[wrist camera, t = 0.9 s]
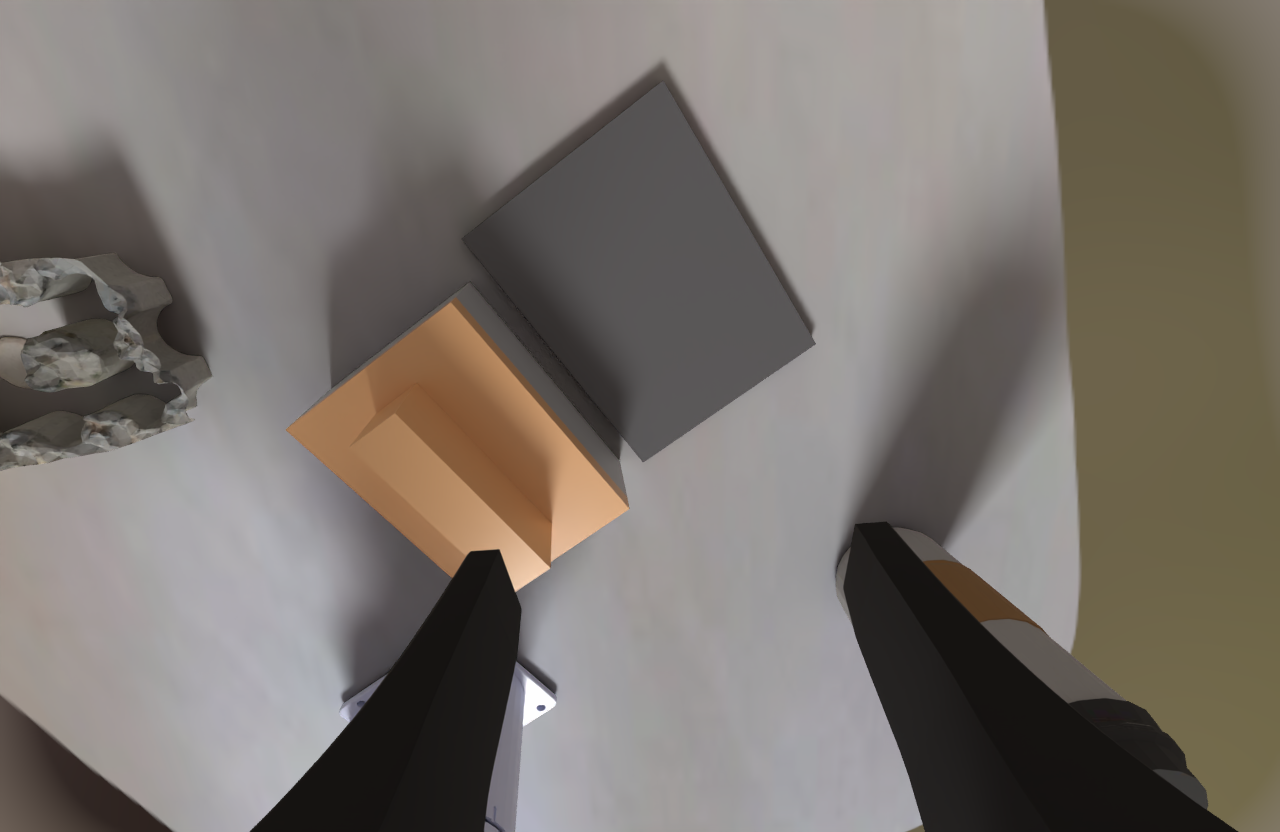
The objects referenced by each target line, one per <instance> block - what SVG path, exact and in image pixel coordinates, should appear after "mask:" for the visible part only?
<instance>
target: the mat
mask: <svg viewBox="0 0 1280 832" xmlns="http://www.w3.org/2000/svg"><path fill="white" fill-rule="evenodd" d="M462 240H463V241H464V242H465V244H466V245H467V246H468V247H469V249H470V250H471V251H472V252H473V254H474V255H475V256H476V257H477V258H478V260H479V261H480V262H481V263H482V265H483V266H484V267H485V268H486V270H487V271H488V272H489V273H490V274H491V276H492V277H493V278H494V279H495V281H496V282H497V283H498V284H499V286H500V287H501V288H502V289H503V290H504V292H505V293H506V294H507V295H508V297H509V298H510V299H511V300H512V302H513V303H514V304H515V305H516V306H517V308H518V309H519V310H520V311H521V313H522V314H523V315H524V316H525V318H526V319H527V320H528V321H529V322H530V324H531V325H532V326H533V327H534V329H535V330H536V331H537V332H538V334H539V335H540V336H541V337H542V338H543V340H544V341H545V342H546V343H547V345H548V346H549V347H550V348H551V350H552V351H553V352H554V353H555V354H556V356H557V357H558V358H559V359H560V361H561V362H562V363H563V364H564V366H565V367H566V368H567V369H568V370H569V372H570V373H571V374H572V375H573V377H574V378H575V379H576V380H577V382H578V383H579V384H580V385H581V386H582V388H583V389H584V390H585V391H586V393H587V394H588V395H589V396H590V398H591V399H592V400H593V401H594V402H595V404H596V405H597V406H598V407H599V409H600V410H601V411H602V412H603V414H604V415H605V416H606V417H607V418H608V420H609V421H610V422H611V423H612V425H613V426H614V427H615V428H616V430H617V431H618V432H619V433H620V434H621V436H622V437H623V438H624V439H625V441H626V442H627V443H628V444H629V446H630V447H631V448H632V449H633V450H634V452H635V453H636V454H637V455H638V457H639V458H640V459H641V460H642V462H645V461H646V460H647V459H649V458H650V457H652V456H653V455H655V454H656V453H658V452H659V451H661V450H662V449H664V448H665V447H666V446H668V445H669V444H671V443H672V442H674V441H675V440H677V439H678V438H680V437H681V436H682V435H684V434H685V433H687V432H688V431H690V430H691V429H693V428H694V427H696V426H697V425H698V424H700V423H701V422H703V421H704V420H706V419H707V418H709V417H710V416H712V415H713V414H715V413H716V412H717V411H719V410H720V409H722V408H723V407H725V406H726V405H728V404H729V403H731V402H732V401H733V400H735V399H736V398H738V397H739V396H741V395H742V394H744V393H745V392H747V391H748V390H749V389H751V388H752V387H754V386H755V385H757V384H758V383H760V382H761V381H763V380H764V379H766V378H767V377H768V376H770V375H771V374H773V373H774V372H776V371H777V370H779V369H780V368H782V367H783V366H784V365H786V364H787V363H789V362H790V361H792V360H793V359H795V358H796V357H798V356H799V355H801V354H802V353H803V352H805V351H806V350H808V349H809V348H811V347H812V346H814V345H815V344H816V343H815V341H814V340H813V338H812V336H811V334H810V333H809V331H808V329H807V328H806V326H805V324H804V322H803V321H802V319H801V317H800V315H799V314H798V312H797V310H796V309H795V307H794V305H793V303H792V302H791V300H790V298H789V297H788V295H787V293H786V291H785V290H784V288H783V286H782V284H781V283H780V281H779V279H778V278H777V276H776V274H775V272H774V271H773V269H772V267H771V265H770V264H769V262H768V260H767V259H766V257H765V255H764V253H763V252H762V250H761V248H760V246H759V245H758V243H757V241H756V240H755V238H754V236H753V234H752V233H751V231H750V229H749V227H748V226H747V224H746V222H745V221H744V219H743V217H742V215H741V214H740V212H739V210H738V208H737V207H736V205H735V203H734V202H733V200H732V198H731V196H730V195H729V193H728V191H727V190H726V188H725V186H724V184H723V183H722V181H721V179H720V177H719V176H718V174H717V172H716V171H715V169H714V167H713V165H712V164H711V162H710V160H709V158H708V157H707V155H706V153H705V152H704V150H703V148H702V146H701V145H700V143H699V141H698V139H697V138H696V136H695V134H694V133H693V131H692V129H691V127H690V126H689V124H688V122H687V120H686V119H685V117H684V115H683V114H682V112H681V110H680V108H679V107H678V105H677V103H676V101H675V100H674V98H673V96H672V95H671V93H670V91H669V89H668V88H667V86H666V84H665V83H664V81H662V82H661V83H659V84H658V85H657V86H655V87H654V88H653V89H652V90H650V91H649V92H648V93H647V94H645V95H644V96H643V97H641V98H640V99H639V100H638V101H636V102H635V103H634V104H633V105H631V106H630V107H629V108H627V109H626V110H625V111H624V112H622V113H621V114H620V115H619V116H617V117H616V118H615V119H613V120H612V121H611V122H610V123H608V124H607V125H606V126H605V127H603V128H602V129H601V130H599V131H598V132H597V133H596V134H594V135H593V136H592V137H591V138H589V139H588V140H587V141H585V142H584V143H583V144H582V145H580V146H579V147H578V148H577V149H575V150H574V151H573V152H571V153H570V154H569V155H568V156H566V157H565V158H564V159H563V160H561V161H560V162H559V163H558V164H556V165H555V166H554V167H552V168H551V169H550V170H549V171H547V172H546V173H545V174H544V175H542V176H541V177H540V178H538V179H537V180H536V181H535V182H533V183H532V184H531V185H530V186H528V187H527V188H526V189H524V190H523V191H522V192H521V193H519V194H518V195H517V196H516V197H514V198H513V199H512V200H510V201H509V202H508V203H507V204H505V205H504V206H503V207H502V208H500V209H499V210H498V211H496V212H495V213H494V214H493V215H491V216H490V217H489V218H488V219H486V220H485V221H484V222H482V223H481V224H480V225H479V226H477V227H476V228H475V229H474V230H472V231H471V232H470V233H468V234H467V235H466V236H465V237H463V238H462Z"/></svg>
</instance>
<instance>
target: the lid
mask: <svg viewBox="0 0 1280 832" xmlns="http://www.w3.org/2000/svg"><path fill="white" fill-rule="evenodd" d="M286 431H287V432H289V433H290V434H291V435H292V436H293V437H294V438H295V439H296V440H298V441H299V442H300V443H301V444H302V445H303V446H304V447H305V448H307V449H308V450H309V451H310V452H311V453H312V454H313V455H314V456H316V457H317V458H318V459H319V460H320V461H321V462H322V463H323V464H324V465H326V466H327V467H328V468H329V469H330V470H331V471H332V472H333V473H335V474H336V475H337V476H338V477H339V478H340V479H341V480H342V481H344V482H345V483H346V484H347V485H348V486H349V487H350V488H351V489H353V490H354V491H355V492H356V493H357V494H358V495H359V496H360V497H362V498H363V499H364V500H365V501H366V502H367V503H368V504H369V505H370V506H372V507H373V508H374V509H375V510H376V511H377V512H378V513H379V514H381V515H382V516H383V517H384V518H385V519H386V520H387V521H388V522H390V523H391V524H392V525H393V526H394V527H395V528H396V529H397V530H399V531H400V532H401V533H402V534H403V535H404V536H405V537H406V538H408V539H409V540H410V541H411V542H412V543H413V544H414V545H415V546H417V547H418V548H419V549H420V550H421V551H422V552H423V553H424V554H425V555H427V556H428V557H429V558H430V559H431V560H432V561H433V562H434V563H436V564H437V565H438V566H439V567H440V568H441V569H442V570H443V571H445V572H446V573H447V574H448V575H449V576H450V577H451V578H453V577H454V575H455V573H456V572H457V570H458V568H459V567H460V565H461V564H462V562H463V560H464V559H465V557H466V556H467V554H468V553H469V552H470V551H480V550H494V549H500V552H501V554H502V557H503V560H504V563H505V565H506V568H507V571H508V573H509V576H510V579H511V582H512V584H513V587H514V590H515V592H516V591H518V590H519V589H520V588H522V587H523V586H525V585H526V584H528V583H529V582H531V581H532V580H534V579H535V578H537V577H538V576H540V575H541V574H543V573H544V572H546V571H547V570H549V569H550V568H551V561H553V560H554V559H556V558H557V557H559V556H560V555H562V554H563V553H565V552H566V551H568V550H569V549H571V548H572V547H574V546H575V545H577V544H578V543H580V542H581V541H583V540H584V539H586V538H587V537H588V536H590V535H591V534H593V533H594V532H596V531H597V530H599V529H600V528H602V527H603V526H605V525H606V524H608V523H609V522H611V521H612V520H614V519H615V518H617V517H618V516H620V515H621V514H623V513H624V512H625V511H627V510H628V509H629V504H628V499H627V496H626V495H625V494H624V493H623V492H622V490H621V489H620V488H619V487H618V486H617V485H616V483H615V482H614V481H613V480H612V479H611V478H610V476H609V475H608V474H607V473H606V472H605V471H604V469H603V468H602V467H601V466H600V465H599V464H598V462H597V461H596V460H595V459H594V458H593V457H592V455H591V454H590V453H589V452H588V451H587V450H586V448H585V447H584V446H583V445H582V444H581V443H580V441H579V440H578V439H577V438H576V437H575V436H574V434H573V433H572V432H571V431H570V430H569V429H568V427H567V426H566V425H565V424H564V423H563V422H562V420H561V419H560V418H559V417H558V416H557V415H556V413H555V412H554V411H553V410H552V409H551V408H550V406H549V405H548V404H547V403H546V402H545V401H544V399H543V398H542V397H541V396H540V395H539V394H538V392H537V391H536V390H535V389H534V388H533V387H532V385H531V384H530V383H529V382H528V381H527V380H526V378H525V377H524V376H523V375H522V374H521V373H520V371H519V370H518V369H517V368H516V367H515V366H514V364H513V363H512V362H511V361H510V360H509V358H508V357H507V356H506V355H505V354H504V353H503V351H502V350H501V349H500V348H499V347H498V346H497V344H496V343H495V342H494V341H493V340H492V339H491V337H490V336H489V335H488V334H487V333H486V332H485V330H484V329H483V328H482V327H481V326H480V325H479V323H478V322H477V321H476V320H475V319H474V318H473V316H472V315H471V314H470V313H469V312H468V311H467V309H466V308H465V307H464V306H463V305H462V304H461V302H460V301H459V300H458V299H457V298H456V297H455V298H454V299H453V300H451V301H450V302H449V303H447V304H446V305H445V306H443V307H442V308H441V309H440V310H438V311H437V312H436V313H434V314H433V315H432V316H430V317H429V318H428V319H427V320H425V321H424V322H423V323H421V324H420V325H419V326H418V327H416V328H415V329H414V330H412V331H411V332H410V333H408V334H407V335H406V336H405V337H403V338H402V339H401V340H399V341H398V342H397V343H395V344H394V345H393V346H392V347H390V348H389V349H388V350H386V351H385V352H384V353H382V354H381V355H380V356H379V357H377V358H376V359H375V360H373V361H372V362H371V363H370V364H368V365H367V366H366V367H364V368H363V369H362V370H360V371H359V372H358V373H357V374H355V375H354V376H353V377H351V378H350V379H349V380H347V381H346V382H345V383H344V384H342V385H341V386H340V387H338V388H337V389H336V390H335V391H333V392H332V393H331V394H329V395H328V396H327V397H325V398H324V399H323V400H322V401H320V402H319V403H318V404H316V405H315V406H314V407H312V408H311V409H310V410H309V411H307V412H306V413H305V414H303V415H302V416H301V417H299V418H298V419H297V420H296V421H295V422H294V423H292V424H291V425H290V426H289V427H288V428H287V429H286Z"/></svg>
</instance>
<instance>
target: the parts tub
mask: <svg viewBox="0 0 1280 832" xmlns="http://www.w3.org/2000/svg"><path fill="white" fill-rule="evenodd" d="M455 297H456V298H457V299H458V300H459V301H460V302H461V304H462V305H463V306H464V307H465V308H466V309H467V311H468V312H469V313H470V314H471V315H472V316H473V318H474V319H475V320H476V321H477V322H478V323H479V325H480V326H481V327H482V328H483V329H484V330H485V332H486V333H487V334H488V335H489V336H490V337H491V339H492V340H493V341H494V342H495V343H496V344H497V346H498V347H499V348H500V349H501V350H502V351H503V353H504V354H505V355H506V356H507V357H508V358H509V360H510V361H511V362H512V363H513V364H514V366H515V367H516V368H517V369H518V370H519V371H520V373H521V374H522V375H523V376H524V377H525V378H526V380H527V381H528V382H529V383H530V384H531V385H532V387H533V388H534V389H535V390H536V391H537V392H538V394H539V395H540V396H541V397H542V398H543V399H544V401H545V402H546V403H547V404H548V405H549V406H550V408H551V409H552V410H553V411H554V412H555V413H556V415H557V416H558V417H559V418H560V419H561V420H562V422H563V423H564V424H565V425H566V426H567V427H568V429H569V430H570V431H571V432H572V433H573V434H574V436H575V437H576V438H577V439H578V440H579V441H580V443H581V444H582V445H583V446H584V447H585V448H586V450H587V451H588V452H589V453H590V454H591V455H592V457H593V458H594V459H595V460H596V461H597V462H598V464H599V465H600V466H601V467H602V468H603V469H604V471H605V472H606V473H607V474H608V475H609V476H610V478H611V479H612V480H613V481H614V482H615V483H616V485H617V486H618V487H619V488H620V489H621V490H622V492H623V493H624V494H625V495H626V496H627V494H626V489H625V484H624V480H623V475H622V470H621V465H620V461H619V460H618V458H617V457H616V456H615V455H614V454H613V452H612V451H611V450H610V449H609V448H608V446H607V445H606V444H605V443H604V442H603V440H602V439H601V438H600V437H599V436H598V434H597V433H596V432H595V431H594V430H593V428H592V427H591V426H590V425H589V424H588V422H587V421H586V420H585V419H584V418H583V416H582V415H581V414H580V413H579V412H578V410H577V409H576V408H575V407H574V406H573V404H572V403H571V402H570V401H569V400H568V398H567V397H566V396H565V395H564V394H563V392H562V391H561V390H560V389H559V388H558V386H557V385H556V384H555V383H554V382H553V380H552V379H551V378H550V377H549V376H548V374H547V373H546V372H545V371H544V370H543V368H542V367H541V366H540V365H539V364H538V362H537V361H536V360H535V359H534V358H533V356H532V355H531V354H530V353H529V352H528V350H527V349H526V348H525V347H524V346H523V344H522V343H521V342H520V341H519V340H518V338H517V337H516V336H515V335H514V334H513V332H512V331H511V330H510V329H509V328H508V327H507V325H506V324H505V323H504V322H503V321H502V319H501V318H500V317H499V316H498V315H497V313H496V312H495V311H494V310H493V309H492V307H491V306H490V305H489V304H488V303H487V301H486V300H485V299H484V298H483V297H482V295H481V294H480V293H479V292H478V291H477V289H476V288H475V287H474V286H473V285H472V283H471V282H469V283H467V284H466V285H465V286H464V287H462V288H461V289H460V290H458V291H457V292H456V293H454V294H453V295H452V296H451V297H449V298H448V299H447V300H445V301H444V302H443V303H442V304H440V305H439V306H438V307H436V308H435V309H434V310H432V311H431V312H430V313H429V314H427V315H426V316H425V317H423V318H422V319H421V320H420V321H418V322H417V323H416V324H414V325H413V326H412V327H410V328H409V329H408V330H407V331H405V332H404V333H403V334H401V335H400V336H399V337H398V338H396V339H395V340H394V341H392V342H391V343H390V344H388V345H387V346H386V347H385V348H383V349H382V350H381V351H379V352H378V353H377V354H376V355H374V356H373V357H372V358H370V359H369V360H368V361H366V362H365V363H364V364H363V365H361V366H360V367H359V368H357V369H356V370H355V371H353V372H352V373H351V374H350V375H348V376H347V377H346V378H344V379H343V380H342V381H341V382H339V383H338V384H337V385H335V386H334V387H333V388H331V389H330V390H329V391H328V392H327V393H326V394H325V395H324V396H322V397H321V398H320V399H319V400H318V401H317V402H316V403H315V404H314V405H312V406H311V407H310V408H309V409H308V410H307V411H309V410H310V409H311V408H312V407H314V406H315V405H316V404H318V403H319V402H320V401H322V400H323V399H324V398H325V397H327V396H328V395H329V394H331V393H332V392H333V391H335V390H336V389H337V388H338V387H340V386H341V385H342V384H344V383H345V382H346V381H347V380H349V379H350V378H351V377H353V376H354V375H355V374H357V373H358V372H359V371H360V370H362V369H363V368H364V367H366V366H367V365H368V364H370V363H371V362H372V361H373V360H375V359H376V358H377V357H379V356H380V355H381V354H382V353H384V352H385V351H386V350H388V349H389V348H390V347H392V346H393V345H394V344H395V343H397V342H398V341H399V340H401V339H402V338H403V337H405V336H406V335H407V334H408V333H410V332H411V331H412V330H414V329H415V328H416V327H418V326H419V325H420V324H421V323H423V322H424V321H425V320H427V319H428V318H429V317H430V316H432V315H433V314H434V313H436V312H437V311H438V310H440V309H441V308H442V307H443V306H445V305H446V304H447V303H449V302H450V301H451V300H453V299H454V298H455ZM307 411H306V412H307ZM306 412H305V413H306ZM305 413H304V414H305ZM302 415H303V414H302ZM302 415H301V416H302ZM301 416H300V417H301Z"/></svg>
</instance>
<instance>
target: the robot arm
mask: <svg viewBox="0 0 1280 832" xmlns="http://www.w3.org/2000/svg"><path fill="white" fill-rule="evenodd" d="M843 590H844V594H845V598H846V602H847V606H848V610H849V614H850V617H851V621H852V625H853V628H854V632H855V636H856V639H857V641H858V644H859V647H860V649H861V652H862V655H863V657H864V660H865V663H866V665H867V668H868V670H869V673H870V676H871V678H872V681H873V683H874V686H875V688H876V691H877V693H878V696H879V699H880V701H881V704H882V706H883V709H884V711H885V714H886V716H887V719H888V722H889V724H890V727H891V729H892V732H893V734H894V737H895V739H896V742H897V745H898V747H899V750H900V752H901V755H902V758H903V761H904V764H905V767H906V770H907V773H908V775H909V779H910V782H911V785H912V789H913V792H914V796H915V799H916V802H917V806H918V809H919V813H920V816H921V820H922V823H923V826H924V830H925V832H1238V831H1236V830H1235V829H1234V828H1232V827H1231V826H1229V825H1228V824H1226V823H1225V822H1224V821H1222V820H1221V819H1219V818H1218V817H1216V816H1215V815H1213V814H1212V813H1211V812H1209V811H1207V810H1206V809H1205V808H1203V807H1202V806H1200V805H1199V804H1198V803H1196V802H1195V801H1193V800H1192V799H1191V798H1189V797H1188V796H1187V795H1185V794H1184V793H1183V792H1181V791H1180V790H1179V789H1177V788H1176V787H1175V786H1173V785H1172V784H1171V783H1169V782H1168V781H1167V780H1165V779H1164V778H1163V777H1161V776H1160V775H1159V774H1157V773H1156V772H1155V771H1153V770H1152V769H1151V768H1149V767H1148V766H1146V765H1145V764H1144V763H1142V762H1141V761H1140V760H1138V759H1137V758H1136V757H1134V756H1133V755H1132V754H1130V753H1129V752H1128V751H1126V750H1125V749H1124V748H1122V747H1121V746H1120V745H1118V744H1117V743H1116V742H1115V741H1113V740H1112V739H1111V738H1110V737H1108V736H1107V735H1106V734H1105V733H1104V732H1102V731H1101V730H1100V729H1099V728H1097V727H1096V726H1095V725H1094V724H1092V723H1091V722H1090V721H1089V720H1087V719H1086V718H1085V717H1084V716H1082V715H1081V714H1080V713H1079V712H1078V711H1076V710H1075V709H1074V708H1073V707H1072V706H1071V705H1069V704H1068V703H1067V702H1066V701H1065V700H1063V699H1062V698H1061V697H1060V696H1059V695H1058V694H1056V693H1055V692H1054V691H1053V690H1052V689H1051V688H1049V687H1048V686H1047V685H1046V684H1045V683H1044V682H1043V681H1042V680H1040V679H1039V678H1038V677H1037V676H1036V675H1035V674H1034V673H1033V672H1032V671H1030V670H1029V669H1028V668H1027V667H1026V666H1025V665H1024V664H1023V663H1022V662H1021V661H1020V660H1018V659H1017V658H1016V657H1015V656H1014V655H1013V654H1012V653H1011V652H1010V651H1009V650H1008V649H1007V648H1006V647H1005V646H1004V645H1003V644H1002V643H1000V642H999V641H998V640H997V639H996V638H995V637H994V636H993V635H992V634H991V633H990V632H989V631H988V630H987V629H986V628H985V627H984V626H983V625H982V624H981V623H980V622H979V621H978V620H977V619H976V618H975V617H974V616H973V615H972V614H971V613H970V612H969V611H968V610H967V609H966V608H965V607H964V605H963V604H962V603H961V602H960V601H959V600H958V599H957V598H956V597H955V596H954V595H953V594H952V593H951V592H950V591H949V590H948V589H947V588H946V587H945V586H944V585H943V584H942V582H941V581H940V580H939V579H938V578H937V577H936V576H935V575H934V574H933V573H932V571H931V570H930V569H929V568H928V567H927V566H926V565H925V564H924V563H923V562H922V560H921V559H920V558H919V557H918V556H917V555H916V554H915V553H914V551H913V550H912V549H911V548H910V547H909V546H908V545H907V543H906V542H905V541H904V540H903V539H902V538H901V537H900V535H899V534H898V533H897V532H896V531H895V530H894V528H893V527H892V526H891V525H890V524H889V523H887V522H876V523H862V524H855V528H854V533H853V538H852V543H851V549H850V554H849V559H848V564H847V569H846V574H845V580H844V585H843ZM520 620H521V606H520V603H519V601H518V598H517V595H516V592H515V590H514V587H513V584H512V582H511V579H510V576H509V573H508V571H507V568H506V565H505V563H504V560H503V557H502V554H501V552H500V549H494V550H480V551H470V552H469V553H468V554H467V556H466V557H465V559H464V560H463V562H462V564H461V565H460V567H459V568H458V570H457V572H456V573H455V575H454V577H453V578H452V580H451V581H450V583H449V585H448V586H447V588H446V589H445V591H444V592H443V594H442V596H441V597H440V599H439V600H438V602H437V603H436V605H435V606H434V608H433V609H432V611H431V613H430V614H429V616H428V617H427V619H426V620H425V621H424V623H423V624H422V626H421V627H420V629H419V630H418V632H417V633H416V635H415V636H414V638H413V639H412V640H411V642H410V643H409V645H408V646H407V648H406V649H405V651H404V652H403V653H402V655H401V656H400V658H399V659H398V660H397V662H396V663H395V664H394V666H393V667H392V668H391V670H390V671H389V672H388V674H386V675H385V676H383V677H382V678H380V679H379V680H377V681H376V682H374V683H373V684H371V685H370V686H368V687H367V688H365V689H364V690H363V691H361V692H360V693H358V694H357V695H355V696H354V697H352V698H351V699H349V700H348V701H346V702H345V703H343V704H342V706H341V708H340V711H339V714H340V716H341V717H343V718H344V719H346V720H347V721H348V722H350V723H349V724H348V725H347V726H346V728H345V729H344V730H343V731H342V732H341V734H340V735H339V736H338V737H337V738H336V739H335V741H334V742H333V743H332V744H331V745H330V746H329V748H328V749H327V750H326V751H325V752H324V753H323V755H322V756H321V757H320V758H319V759H318V760H317V761H316V762H315V763H314V764H313V766H312V767H311V768H310V769H309V770H308V771H307V772H306V773H305V774H304V775H303V777H302V778H301V779H300V780H299V781H298V782H297V783H296V784H295V785H294V786H293V788H292V789H291V790H290V791H289V792H288V793H287V794H286V795H285V796H284V797H283V798H282V799H281V800H280V801H279V802H278V803H277V805H276V806H275V807H274V808H273V809H272V810H271V811H270V812H269V813H268V814H267V815H266V816H265V817H264V818H263V819H262V820H261V821H260V822H259V823H258V824H257V825H256V826H255V827H254V828H253V829H252V830H251V831H250V832H515V826H516V813H517V799H518V786H519V772H520V758H521V745H522V731H523V726H525V725H526V724H528V723H529V722H531V721H533V720H534V719H536V718H537V717H539V716H540V715H542V714H544V713H545V712H547V711H548V710H550V709H552V708H553V707H554V706H555V705H556V695H555V694H554V693H553V692H551V691H550V690H549V689H548V688H547V687H546V686H544V685H543V684H542V683H541V682H540V681H539V680H537V679H536V678H535V677H534V676H533V675H532V674H531V673H529V672H528V671H527V670H526V669H525V668H524V667H522V666H521V665H520V664H519V663H518V662H517V661H516V659H517V651H518V642H519V632H520ZM362 701H365V702H362Z"/></svg>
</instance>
